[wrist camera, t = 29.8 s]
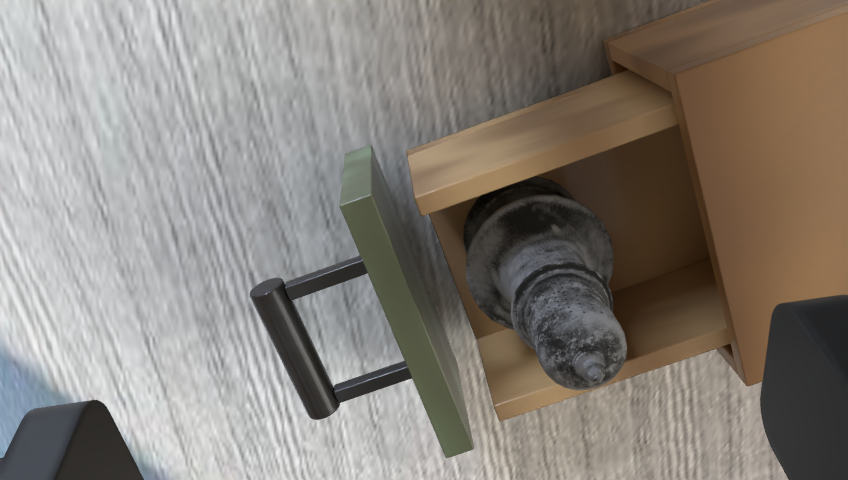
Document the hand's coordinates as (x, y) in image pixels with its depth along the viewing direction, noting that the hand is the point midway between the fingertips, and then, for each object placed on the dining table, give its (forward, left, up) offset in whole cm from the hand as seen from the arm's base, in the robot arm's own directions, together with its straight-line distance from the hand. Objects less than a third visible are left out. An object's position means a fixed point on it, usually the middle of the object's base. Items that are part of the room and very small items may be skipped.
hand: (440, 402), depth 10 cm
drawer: (+4, -7, -25) cm, 26 cm away
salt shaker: (+6, -7, -24) cm, 25 cm away
